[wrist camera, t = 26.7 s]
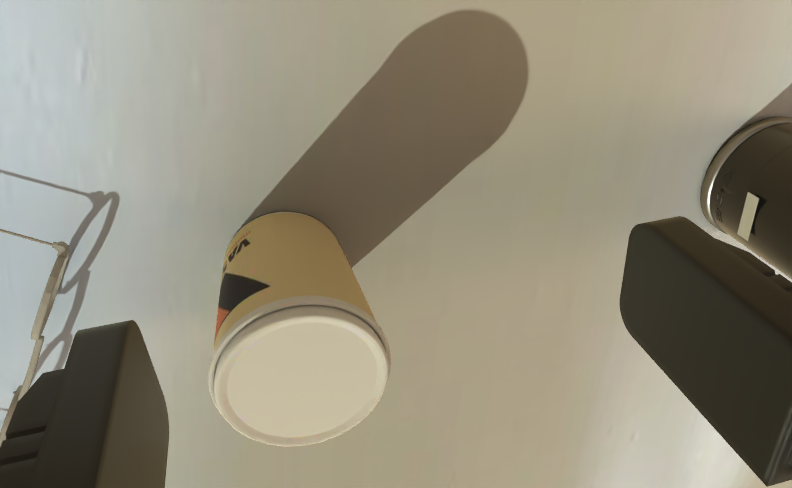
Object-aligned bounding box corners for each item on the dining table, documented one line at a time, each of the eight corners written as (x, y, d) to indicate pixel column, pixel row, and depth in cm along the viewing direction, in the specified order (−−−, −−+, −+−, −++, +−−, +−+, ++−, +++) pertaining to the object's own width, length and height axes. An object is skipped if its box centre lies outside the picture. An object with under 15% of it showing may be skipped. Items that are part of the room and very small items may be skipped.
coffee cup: (218, 191, 38) (218, 304, 28) (365, 207, 41) (413, 314, 31) (204, 315, 42) (200, 453, 32) (338, 321, 45) (373, 449, 35)
